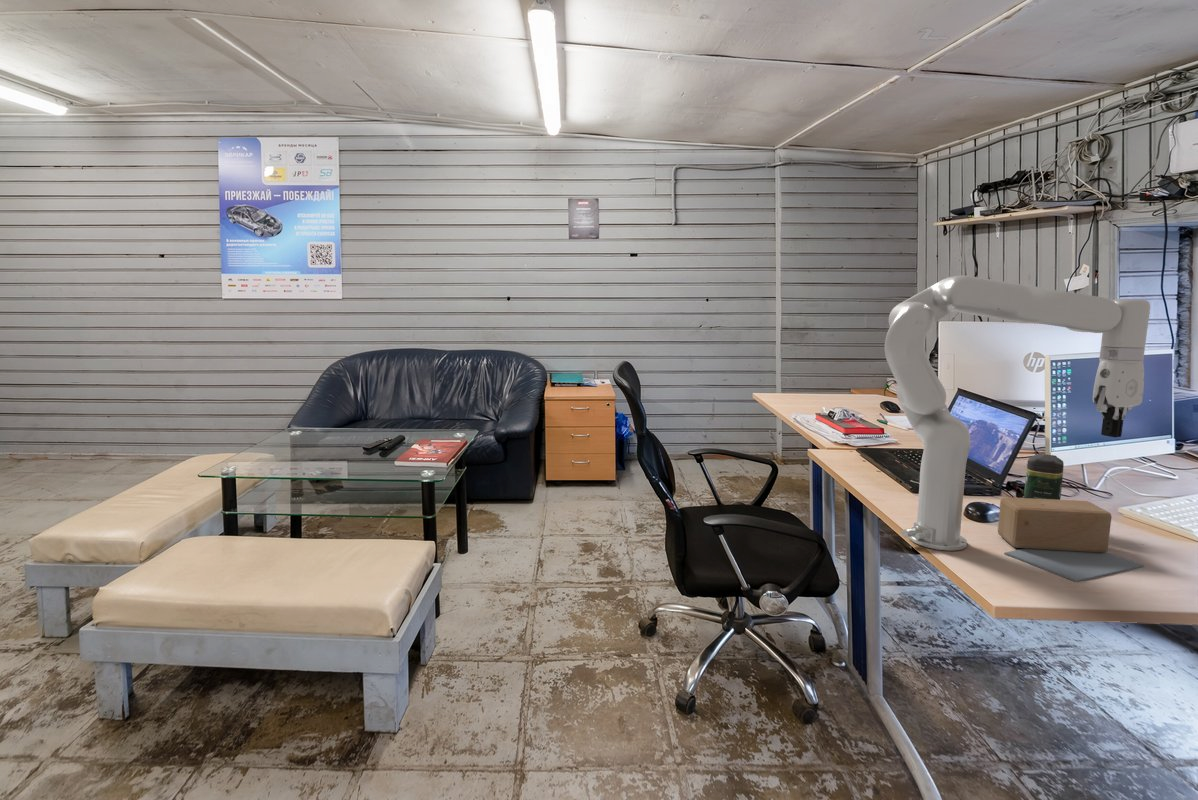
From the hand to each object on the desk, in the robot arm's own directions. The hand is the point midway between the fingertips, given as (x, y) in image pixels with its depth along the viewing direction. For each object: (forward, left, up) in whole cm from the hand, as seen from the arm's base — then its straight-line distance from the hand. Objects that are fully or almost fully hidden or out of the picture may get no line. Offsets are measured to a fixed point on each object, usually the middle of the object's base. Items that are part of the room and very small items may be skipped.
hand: (1110, 435), depth 141 cm
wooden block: (+4, +2, -23) cm, 23 cm away
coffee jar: (+8, +19, -29) cm, 35 cm away
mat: (-9, 0, -28) cm, 30 cm away
